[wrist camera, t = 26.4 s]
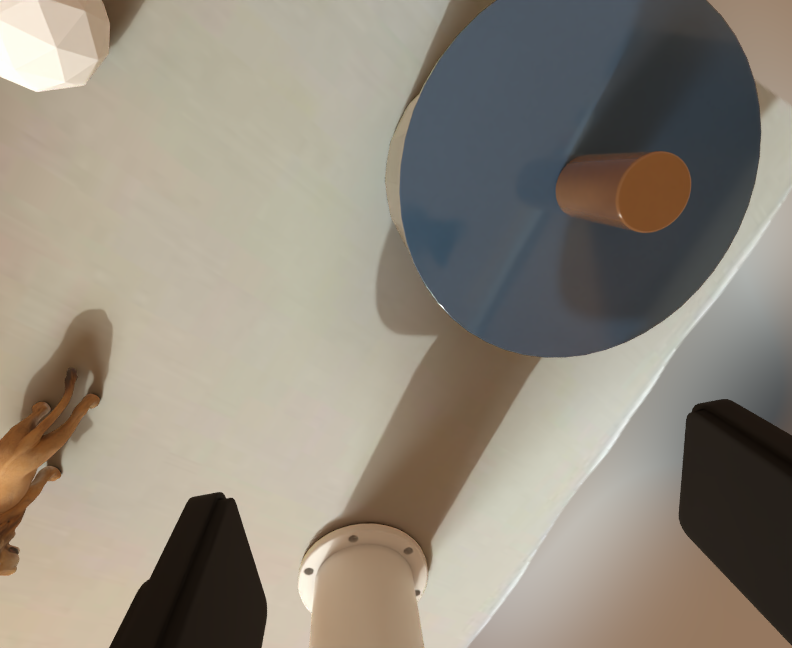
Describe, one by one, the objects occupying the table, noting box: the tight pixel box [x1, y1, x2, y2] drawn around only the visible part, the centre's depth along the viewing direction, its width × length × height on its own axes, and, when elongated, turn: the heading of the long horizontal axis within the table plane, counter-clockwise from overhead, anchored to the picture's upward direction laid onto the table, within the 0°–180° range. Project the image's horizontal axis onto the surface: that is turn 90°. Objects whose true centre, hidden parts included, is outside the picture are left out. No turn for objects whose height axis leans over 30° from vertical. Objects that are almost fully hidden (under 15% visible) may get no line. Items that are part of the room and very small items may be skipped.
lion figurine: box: [0, 367, 100, 576], centre depth 32 cm, size 15×5×9 cm, turn 154°
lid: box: [398, 0, 761, 357], centre depth 19 cm, size 17×17×6 cm
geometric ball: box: [0, 0, 110, 92], centre depth 24 cm, size 8×8×8 cm
